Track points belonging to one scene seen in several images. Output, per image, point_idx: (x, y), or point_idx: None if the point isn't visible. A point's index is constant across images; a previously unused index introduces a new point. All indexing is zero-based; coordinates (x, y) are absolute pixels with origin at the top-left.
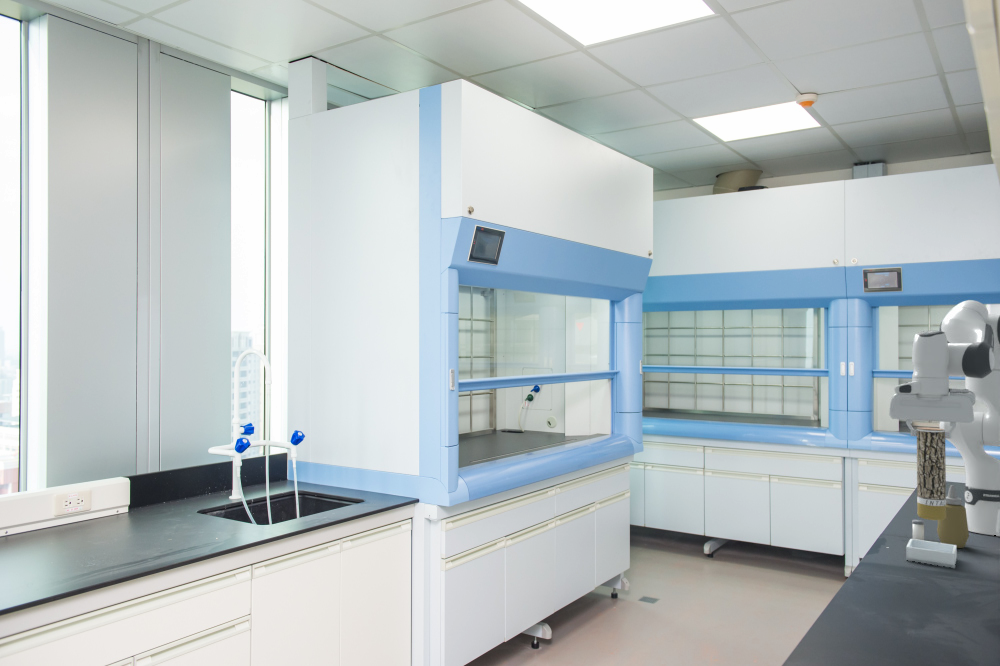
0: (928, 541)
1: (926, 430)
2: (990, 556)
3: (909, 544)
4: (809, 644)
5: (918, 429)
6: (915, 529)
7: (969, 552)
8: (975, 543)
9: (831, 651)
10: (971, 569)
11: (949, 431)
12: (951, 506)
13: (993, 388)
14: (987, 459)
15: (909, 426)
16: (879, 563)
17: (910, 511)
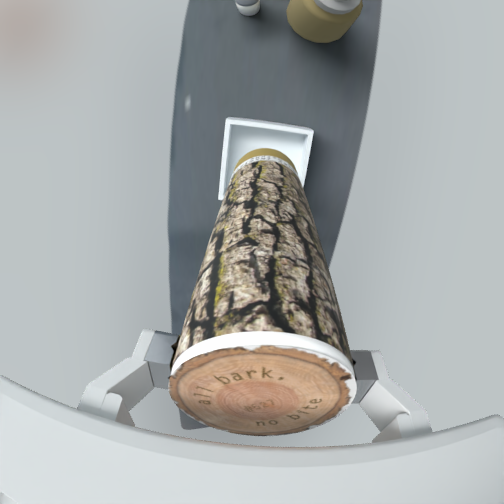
0: (261, 125)
1: (233, 428)
2: (371, 77)
3: (223, 176)
4: (182, 422)
5: (186, 408)
6: (241, 8)
7: (339, 61)
8: None
9: (194, 425)
10: (322, 191)
11: (364, 407)
12: (329, 16)
13: None
14: None
15: (127, 401)
16: (184, 231)
17: None
